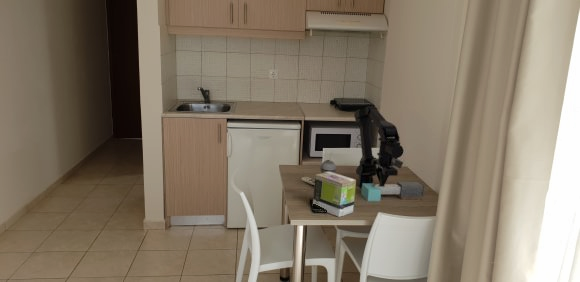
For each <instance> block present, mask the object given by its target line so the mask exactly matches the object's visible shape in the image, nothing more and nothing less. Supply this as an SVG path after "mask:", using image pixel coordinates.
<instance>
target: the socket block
mask: <svg viewBox="0 0 580 282" xmlns="http://www.w3.org/2000/svg"><path fill="white" fill-rule="evenodd" d="M372 184H375V183H374V182H373V183H362V188H361V193H360V194H361V196H362V197H363V199H365V200H366V201H367V202H381V195H382V194H381V189H380V188H374V187H373V186H372Z"/></svg>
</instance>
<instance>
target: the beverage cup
mask: <svg viewBox="0 0 580 282" xmlns="http://www.w3.org/2000/svg"><path fill="white" fill-rule="evenodd" d="M332 156H333V151H331V152H330V157H329V159H327V160H324V161H323V162H321V166H320V173H325V172H329V171H330V172H333V173H336V170H337V168H336V164H335V162H334V161H332Z"/></svg>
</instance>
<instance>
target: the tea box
mask: <svg viewBox="0 0 580 282" xmlns="http://www.w3.org/2000/svg"><path fill="white" fill-rule="evenodd" d="M356 186H357V179H355V178H352V177H349V176H346V175H342V174H339V173H336V172H335V173H333V172H330V171H329V172H325V173H321V172H320V173H316V174H314V185H313V187H314V188H313V199H312V205H313V204H316V205H318V206H320V207H322V208H324V209H326V210H327V212H326V213H328V214H331V215H333V216H335V217H338V218H339V217H340V218H341V217H343V216H346V215H350V214H352V213H354V206H355V205H354V204H355V196H356Z"/></svg>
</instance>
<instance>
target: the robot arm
mask: <svg viewBox="0 0 580 282" xmlns="http://www.w3.org/2000/svg"><path fill="white" fill-rule="evenodd" d="M353 117H354V120H355V124H357V126H358V127H359V135H360V146H361V157H360V160H359V165H358V166H357V168H356V169H355V174H356V175H358V178H357V182H356V186H358V187H359V189H362V183H374V178H373V176H375V177H377V179H378V184H379V183H380V179H381V184H382V186H384V185H385V184H387V181H388V179H389V176H390V177H391V176H392V177H393V176H398V174H399V173H398V172H399V170H398V169H401V168H402V166H403V164H404V162H403V161H401V160H400V159H398V158H401V157H402V156H403V154H404V147H403V146H402V145H401V140H400V135H399V133H398V128H397V126H396V125H395V124H393V123H392V122H389V121H387V120H386V118H385V117H384V116H383V115H382V114H381V113H380V112H379V109H378V108H377V107H376V106H367V107H364V108H360V109H357V110H356V111H355V112H354V116H353ZM372 122H373V123H374V125H375V126H376V127H377V133H378V135H379V138H378V139H377V140H378V141H379V149H378V152H377V154H376V155H377V156H378V157H374V155H373V151H372V150H373V149H372V148H373V147H372V140H371V130H370V127H371V124H372ZM395 167H396V168H395ZM397 168H398V169H397Z"/></svg>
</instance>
